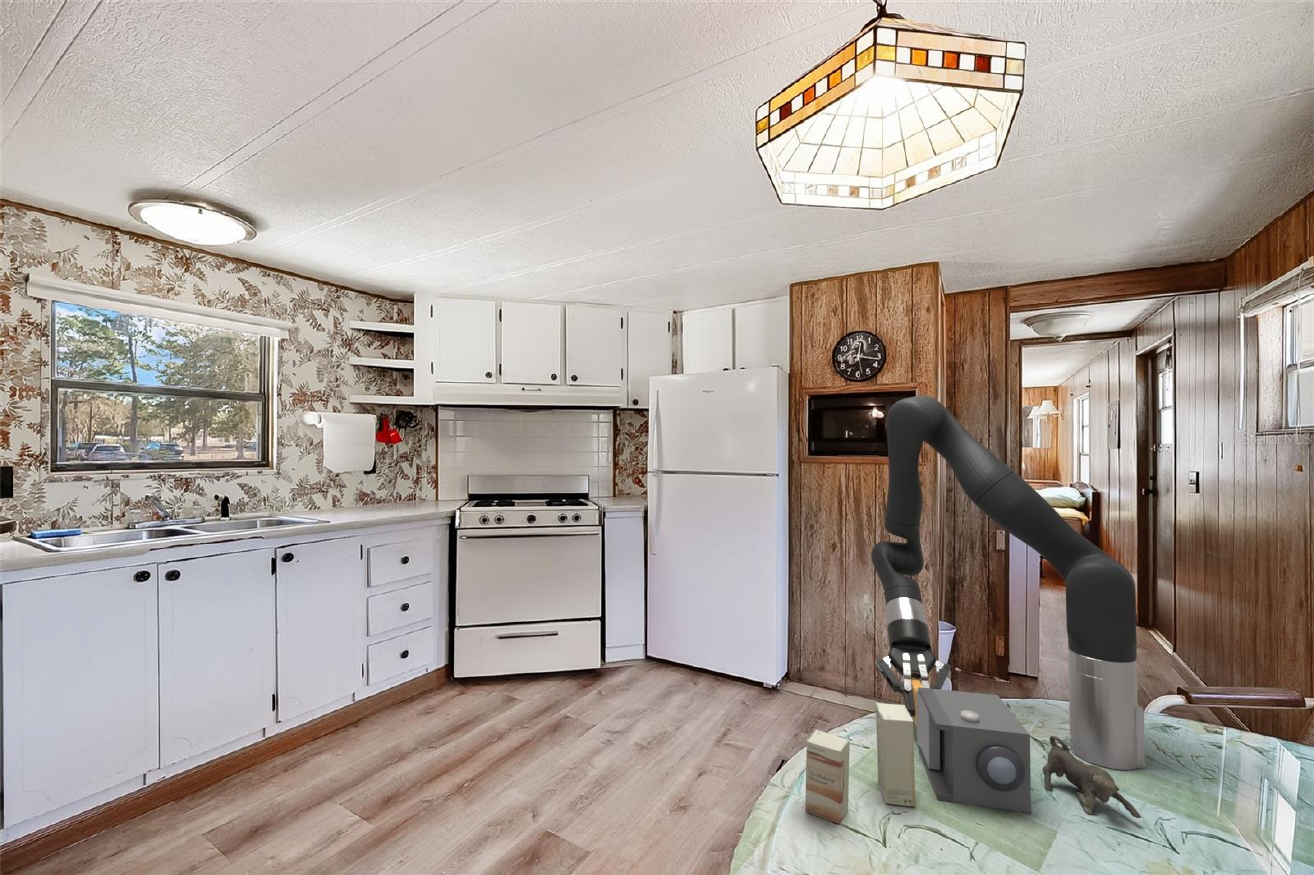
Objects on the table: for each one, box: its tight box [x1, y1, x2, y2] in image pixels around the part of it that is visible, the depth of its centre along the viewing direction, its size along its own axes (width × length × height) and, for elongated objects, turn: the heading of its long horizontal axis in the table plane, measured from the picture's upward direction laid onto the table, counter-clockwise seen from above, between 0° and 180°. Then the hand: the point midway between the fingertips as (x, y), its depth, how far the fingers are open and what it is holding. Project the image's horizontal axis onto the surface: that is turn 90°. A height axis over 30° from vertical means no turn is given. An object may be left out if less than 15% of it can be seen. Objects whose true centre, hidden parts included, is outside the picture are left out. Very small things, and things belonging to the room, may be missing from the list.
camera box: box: [918, 687, 1032, 814], centre depth 89 cm, size 12×15×12 cm
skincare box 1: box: [804, 729, 851, 824], centre depth 82 cm, size 5×4×10 cm
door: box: [911, 678, 940, 770], centre depth 99 cm, size 2×17×9 cm, turn 166°
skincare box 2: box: [875, 702, 916, 807], centre depth 86 cm, size 6×4×12 cm
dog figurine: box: [1042, 735, 1142, 819], centre depth 84 cm, size 12×6×7 cm, turn 10°
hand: (919, 715), depth 102 cm, fingers closed on door
